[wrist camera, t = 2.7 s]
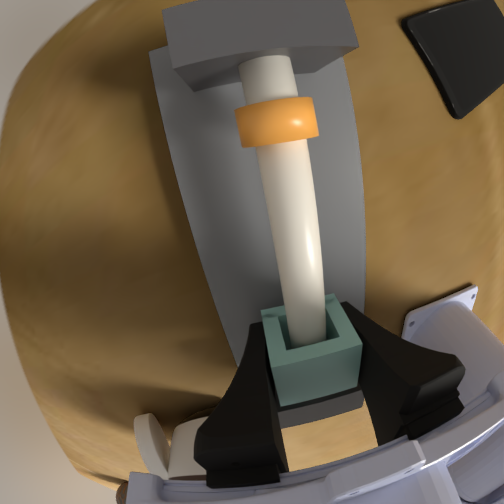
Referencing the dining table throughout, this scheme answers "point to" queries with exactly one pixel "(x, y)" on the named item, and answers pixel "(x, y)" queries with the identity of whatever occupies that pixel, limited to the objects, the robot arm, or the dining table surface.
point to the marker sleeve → (313, 356)
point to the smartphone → (461, 50)
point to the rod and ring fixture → (268, 164)
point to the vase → (122, 493)
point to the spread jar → (170, 447)
